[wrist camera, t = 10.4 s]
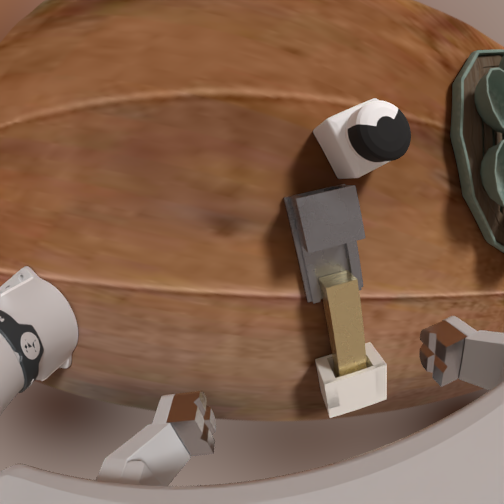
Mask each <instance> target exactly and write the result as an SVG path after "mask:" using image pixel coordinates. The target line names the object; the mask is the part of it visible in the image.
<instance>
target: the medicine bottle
mask: <svg viewBox="0 0 504 504" xmlns="http://www.w3.org/2000/svg"><path fill="white" fill-rule="evenodd" d="M313 133H314V135H315V137H316V139H317V140H318V142H319V144H320V146H321V148H322V150H323V151H324V153H325V155H326V157H327V159H328V161H329V163H330V165H331V167H332V169H333V171H334V172H335V174H336V176H337V178H338V179H348V178H359V177H361V176H363V175H365V174H367V173H369V172H371V171H372V170H374V169H376V168H378V167H380V166H382V165H384V164H386V163H388V162H390V161H392V160H396V159H398V158H400V157H401V156H403V155H404V154H405V152H406V151H407V149H408V147H409V145H410V140H411V132H410V127H409V124H408V121H407V119H406V117H405V116H404V114H403V113H402V112H401V111H400V110H399V109H398V108H397V107H396V106H394V105H393V104H391V103H389V102H386V101H380V100H378V99H376V98H374V99H371V100H369V101H366V102H364V103H361V104H359V105H357V106H354V107H352V108H350V109H347V110H345V111H343V112H341V113H338V114H336V115H334V116H332V117H329V118H327V119H326V120H325V121H324V122H322V123H321V124H320V125H319V126H317V127H316V128H315V129H314V130H313Z"/></svg>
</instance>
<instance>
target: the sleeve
mask: <svg viewBox="0 0 504 504" xmlns="http://www.w3.org/2000/svg"><path fill="white" fill-rule="evenodd" d="M283 199H284V203H285V207H286V211H287V215H288V219H289V224H290V228H291V232H292V236H293V241H294V245H295V249H296V254H297V258H298V263H299V267H300V272H301V276H302V281H303V285H304V290H305V295H306V300H307V302H313V304H314V303H318V302H321V300H320V299H322V294H321V289H320V283H319V278H320V277H324V276H327V275H331V274H334V273H338V272H342V271H345V270H348V271H349V272H350V273H351V274H352V275H353V276H354V277H356V278H357V280H358V287H359V290H361V287H363V280H362V273H361V266H360V260H359V254H358V247H357V242H356V240H360V239H364V238H365V233H364V227H363V222H362V216H361V211H360V206H359V201H358V196H357V191H356V187H355V185H345V184H340V185H336V186H331V187H327V188H323V189H318V190H314V191H310V192H305V193H301V194H297V195H293V196H289V197H284V198H283Z"/></svg>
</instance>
